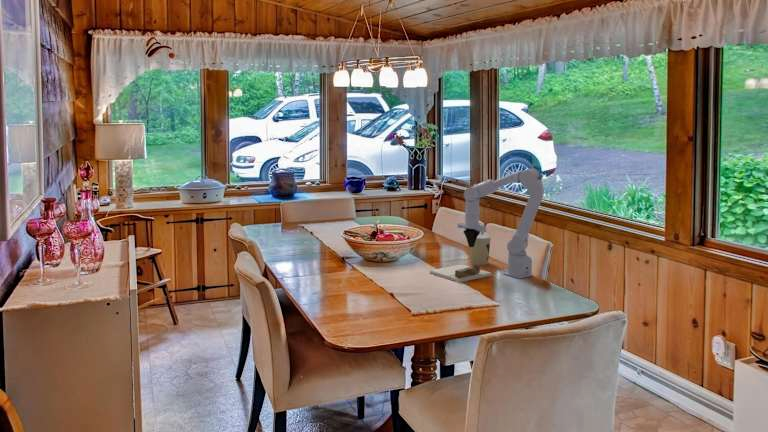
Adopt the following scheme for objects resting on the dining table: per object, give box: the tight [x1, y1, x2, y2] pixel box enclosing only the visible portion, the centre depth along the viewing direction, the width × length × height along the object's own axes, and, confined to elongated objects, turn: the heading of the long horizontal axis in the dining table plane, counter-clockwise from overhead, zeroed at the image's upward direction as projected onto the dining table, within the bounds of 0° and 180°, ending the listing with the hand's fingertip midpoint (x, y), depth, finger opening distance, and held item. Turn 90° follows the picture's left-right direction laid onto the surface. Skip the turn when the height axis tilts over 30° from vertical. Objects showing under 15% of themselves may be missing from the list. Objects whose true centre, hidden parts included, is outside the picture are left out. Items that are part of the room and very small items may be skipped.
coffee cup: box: [469, 234, 491, 266], centre depth 301 cm, size 9×9×12 cm
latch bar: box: [455, 264, 481, 278], centre depth 275 cm, size 12×2×3 cm, turn 132°
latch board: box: [428, 264, 492, 283], centre depth 282 cm, size 18×18×1 cm
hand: (471, 246), depth 288 cm, fingers closed
